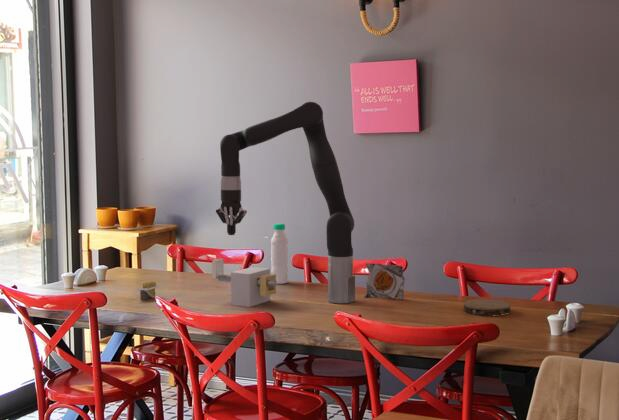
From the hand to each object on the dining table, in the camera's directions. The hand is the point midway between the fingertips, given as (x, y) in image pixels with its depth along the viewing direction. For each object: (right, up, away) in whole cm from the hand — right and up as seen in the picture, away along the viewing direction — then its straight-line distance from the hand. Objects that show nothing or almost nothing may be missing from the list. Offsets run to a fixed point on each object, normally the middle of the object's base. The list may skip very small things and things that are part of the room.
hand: (231, 234), depth 303 cm
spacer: (+14, -22, -6) cm, 26 cm away
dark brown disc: (+91, -27, -18) cm, 97 cm away
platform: (-32, -25, +6) cm, 41 cm away
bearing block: (+7, -25, -2) cm, 26 cm away
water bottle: (+16, -22, +39) cm, 47 cm away
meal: (+57, -25, +6) cm, 63 cm away
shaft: (+5, -18, -1) cm, 19 cm away
